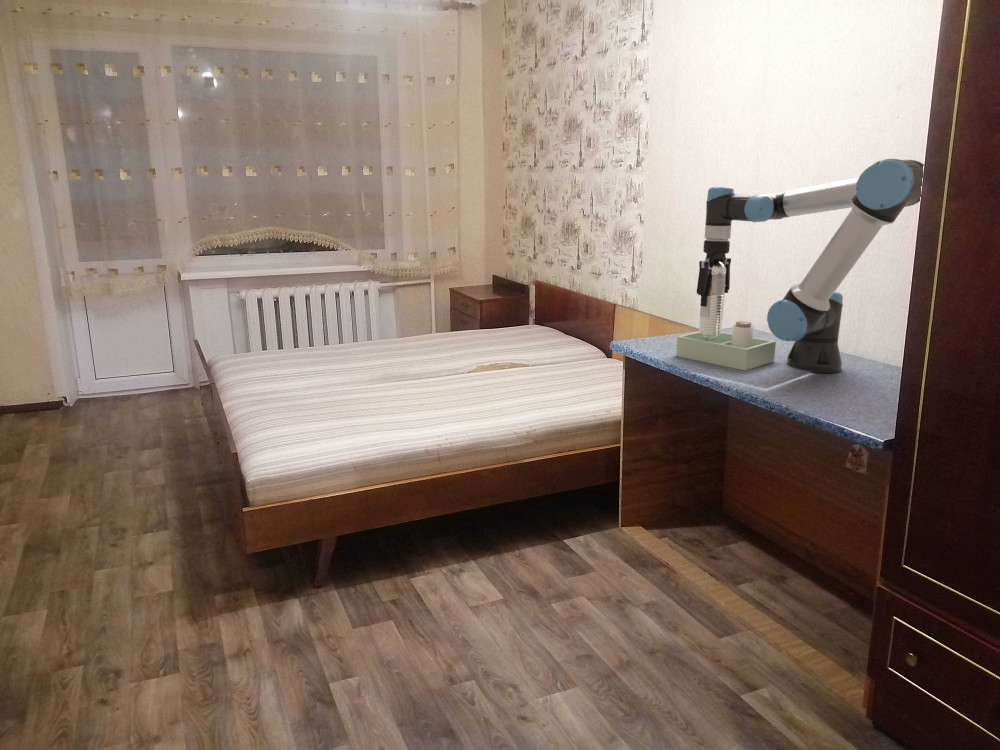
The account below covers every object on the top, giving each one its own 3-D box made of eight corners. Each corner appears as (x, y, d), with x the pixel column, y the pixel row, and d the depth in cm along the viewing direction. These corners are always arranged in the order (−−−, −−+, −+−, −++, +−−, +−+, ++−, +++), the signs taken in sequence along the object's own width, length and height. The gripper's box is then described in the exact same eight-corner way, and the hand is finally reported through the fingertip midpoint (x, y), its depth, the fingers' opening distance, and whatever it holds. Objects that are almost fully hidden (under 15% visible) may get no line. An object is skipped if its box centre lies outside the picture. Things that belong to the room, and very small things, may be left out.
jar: (754, 362, 227) (758, 322, 224) (743, 365, 223) (747, 325, 220) (736, 358, 231) (740, 320, 228) (726, 361, 227) (729, 322, 224)
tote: (773, 363, 228) (775, 341, 226) (745, 373, 217) (747, 349, 216) (705, 350, 245) (706, 329, 243) (676, 358, 235) (677, 336, 233)
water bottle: (723, 338, 230) (730, 256, 224) (701, 338, 230) (707, 256, 224) (718, 333, 237) (724, 253, 230) (696, 333, 237) (701, 253, 230)
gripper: (724, 237, 235) (718, 309, 241) (687, 240, 222) (682, 317, 228) (746, 238, 229) (739, 312, 235) (709, 242, 217) (703, 321, 223)
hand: (711, 315), depth 232 cm, fingers closed on water bottle, 7 cm apart
